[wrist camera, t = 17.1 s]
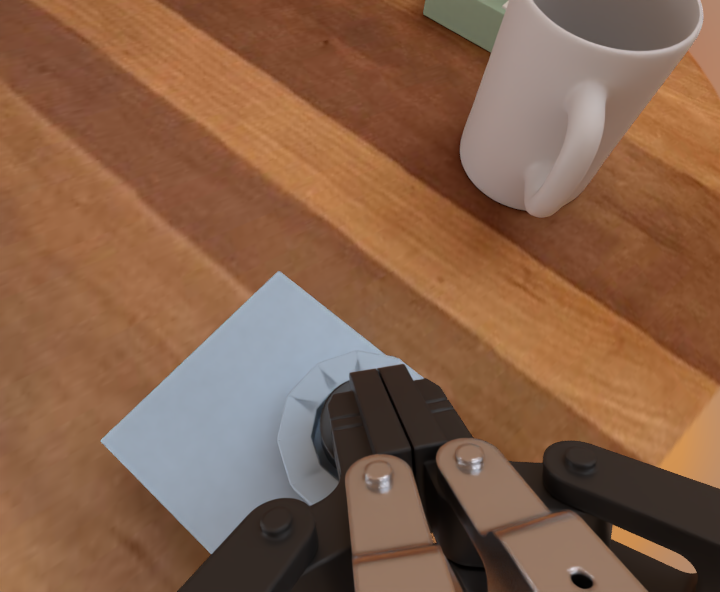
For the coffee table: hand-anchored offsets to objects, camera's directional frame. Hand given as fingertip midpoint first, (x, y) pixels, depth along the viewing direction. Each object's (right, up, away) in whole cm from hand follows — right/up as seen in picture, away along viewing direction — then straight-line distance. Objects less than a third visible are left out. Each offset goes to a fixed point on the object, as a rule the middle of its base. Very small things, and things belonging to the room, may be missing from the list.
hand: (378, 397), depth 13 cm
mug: (+10, +10, +18) cm, 23 cm away
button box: (-4, -4, +10) cm, 11 cm away
